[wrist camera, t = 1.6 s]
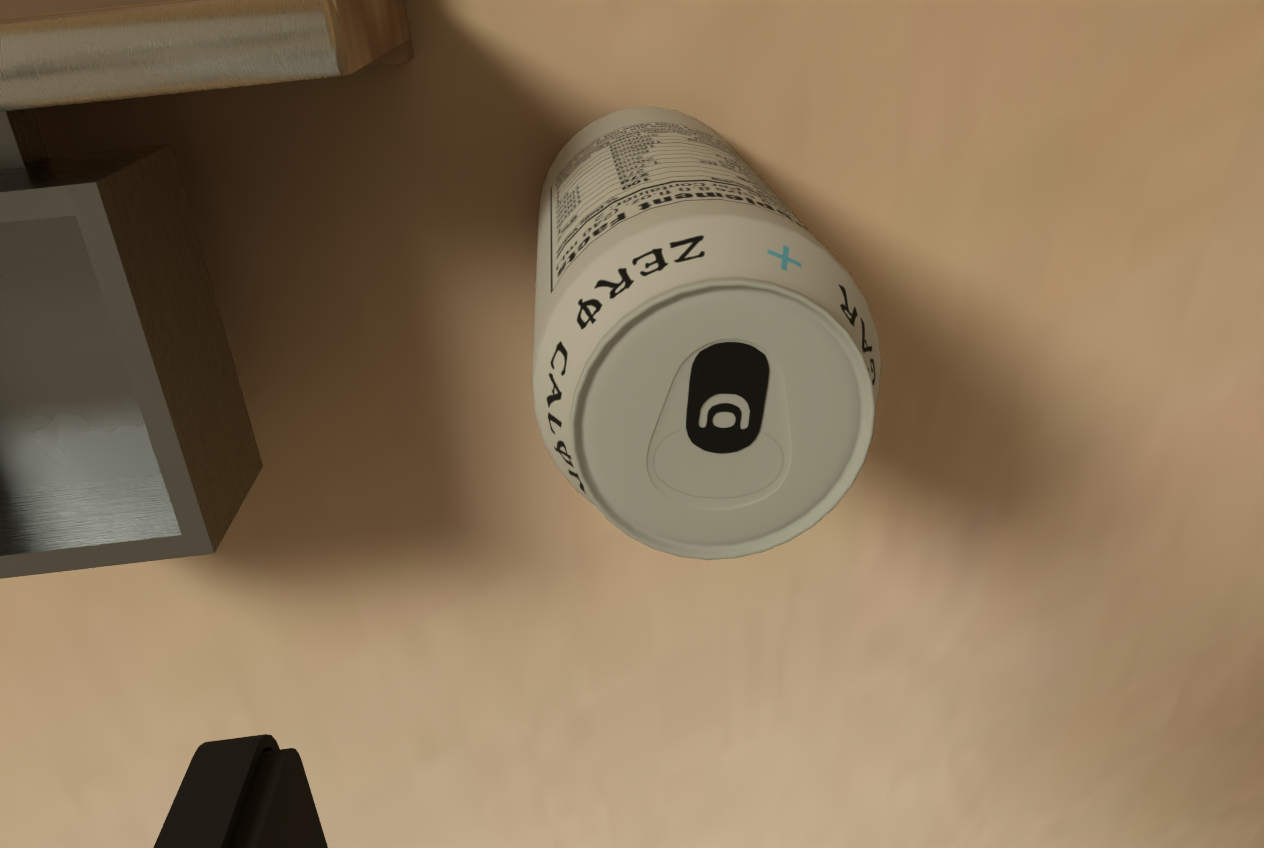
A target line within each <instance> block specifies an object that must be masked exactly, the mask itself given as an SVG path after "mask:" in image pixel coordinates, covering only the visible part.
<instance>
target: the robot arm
mask: <svg viewBox="0 0 1264 848" xmlns="http://www.w3.org/2000/svg"><path fill="white" fill-rule="evenodd" d="M154 848H328V847H327V843H326V840H325V837H324V833H323V830H322V827H321V824H320V820H319V817H318V814H317V810H316V807H315V804H314V800H313V797H312V794H311V790H310V787H309V784H308V781H307V777H306V774H305V771H304V767H303V764H302V761H301V758H300V756H299V753H298V752H297V751H296V749H293V748H289V749H282V750H280V749H279V746H278V744H277V742H276V740H275V739H274V738H273V737H272V735H267V734H265V735H258V736H250V737H242V738H235V739H227V740H219V741H211V742H205V743H203V744H202V745H200V746H199V747H198V749H197V751H196V752H195V754H194V756H193V758H192V760H191V762H190V765H189V767H188V769H187V772H186V774H185V776H184V779H183V781H182V783H181V785H180V788H179V790H178V792H177V795H176V797H175V799H174V802H173V804H172V806H171V809H170V811H169V813H168V815H167V818H166V820H165V822H164V825H163V827H162V829H161V832H160V834H159V836H158V838H157V841H156V843H155V845H154Z"/></svg>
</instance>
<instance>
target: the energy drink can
mask: <svg viewBox="0 0 1264 848" xmlns="http://www.w3.org/2000/svg"><path fill="white" fill-rule="evenodd" d="M880 371H881V357H880V348H879V340H878V331H877V329H876V326H875V323H874V320H873V317H872V314H871V311H870V309H869V306H868V303H867V301H866V299H865V297H864V296H863V294H862V293H861V291H860V289H859V288H858V286H857V285H856V283H855V281H854V280H853V278H852V276H851V275H850V273H849V272H848V271H847V270H846V269H845V268H844V267H843V266H842V265H841V264H840V263H839V262H838V261H837V260H836V259H835V257H834V256H833V255H832V254H831V253H830V252H829V251H828V250H827V249H826V248H825V247H824V246H823V245H822V244H821V243H820V242H819V240H818V239H817V238H816V237H815V236H814V235H813V234H812V233H811V232H810V231H809V230H808V229H807V228H806V227H805V226H804V225H803V223H802V222H801V221H800V220H799V219H798V218H797V217H796V216H795V215H794V214H793V213H792V212H791V211H790V210H789V209H788V207H787V206H786V205H785V204H784V203H783V202H782V201H781V200H780V199H779V198H778V197H777V196H776V195H775V194H774V193H773V192H772V190H771V189H770V188H769V187H768V186H767V185H766V184H765V183H764V182H763V181H762V180H761V179H760V178H759V177H758V176H757V175H756V173H755V172H754V171H753V170H752V169H751V168H750V167H749V166H748V165H747V164H746V163H745V162H744V161H743V160H742V159H741V158H740V156H739V155H738V154H737V153H736V152H735V151H734V150H733V149H732V148H731V147H730V146H729V145H728V144H727V143H726V142H725V141H724V140H723V139H722V138H721V137H720V136H719V135H718V134H717V133H716V132H715V131H714V130H713V129H711V128H710V127H708V126H707V125H705V124H704V123H702V122H701V121H700V120H698V119H696V118H694V117H691V116H689V115H686V114H684V113H681V112H679V111H676V110H670V109H665V108H659V107H634V108H629V109H625V110H621V111H617V112H613V113H610V114H608V115H606V116H604V117H602V118H600V119H597V120H595V121H593V122H591V123H590V124H589V125H587V126H586V127H585V128H583V129H582V130H581V131H579V132H578V133H577V134H575V135H574V136H573V137H572V138H571V140H570V141H569V142H568V143H567V144H566V145H565V146H564V147H563V148H562V149H561V151H560V152H559V154H558V155H557V157H556V159H555V160H554V162H553V164H552V165H551V167H550V169H549V171H548V174H547V177H546V180H545V182H544V185H543V188H542V192H541V199H540V206H539V220H538V245H537V270H536V296H535V321H534V346H533V372H532V384H533V398H534V412H535V415H536V419H537V422H538V426H539V429H540V432H541V436H542V439H543V442H544V444H545V446H546V448H547V450H548V451H549V453H550V455H551V457H552V459H553V461H554V462H555V464H556V466H557V468H558V469H559V471H560V472H561V473H562V474H563V475H564V476H565V478H566V479H567V480H568V481H569V482H570V484H571V485H572V486H573V487H574V488H575V490H576V491H577V492H578V493H580V494H581V495H582V496H583V497H585V498H586V499H587V500H588V501H590V502H591V503H592V504H594V505H595V506H596V507H597V508H598V509H599V510H600V511H601V512H602V513H603V515H604V516H605V517H606V518H607V519H608V520H609V521H610V522H611V523H613V524H614V525H615V526H616V527H618V528H619V529H620V530H621V531H623V532H624V533H625V534H627V535H628V536H629V537H631V538H633V539H635V540H637V541H639V542H641V543H643V544H645V545H647V546H649V547H651V548H653V549H655V550H659V551H662V552H666V553H669V554H672V555H676V556H679V557H687V558H696V559H705V560H712V559H729V558H738V557H743V556H747V555H751V554H756V553H760V552H764V551H766V550H769V549H771V548H774V547H776V546H779V545H781V544H783V543H786V542H788V541H790V540H792V539H793V538H795V537H797V536H798V535H800V534H802V533H803V532H805V531H806V530H808V529H810V528H811V527H813V526H814V525H815V524H816V523H818V522H819V521H820V520H821V519H822V518H823V517H824V516H825V515H827V514H828V513H829V512H830V511H831V510H832V509H833V508H834V507H835V506H836V505H837V504H838V502H839V501H840V500H841V499H842V497H843V496H844V495H845V494H846V492H847V491H848V490H849V489H850V487H851V486H852V485H853V483H854V481H855V479H856V477H857V475H858V473H859V471H860V469H861V468H862V466H863V464H864V462H865V459H866V456H867V453H868V450H869V446H870V443H871V440H872V436H873V429H874V418H875V404H876V401H877V397H878V393H879V382H880Z"/></svg>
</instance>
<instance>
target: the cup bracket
mask: <svg viewBox="0 0 1264 848" xmlns="http://www.w3.org/2000/svg"><path fill="white" fill-rule="evenodd" d="M413 58H414V56H413V50H412V44H411V39H410V33H409V27H408V21H407V16H406V10H405V4H404V0H0V579H1V578H10V577H18V576H27V575H35V574H44V573H52V572H61V571H69V570H78V569H86V568H95V567H103V566H112V565H120V564H129V563H137V562H146V561H154V560H163V559H171V558H180V557H188V556H197V555H205V554H214V553H215V551H216V549H217V547H218V546H219V544H220V542H221V540H222V538H223V537H224V535H225V533H226V531H227V530H228V528H229V526H230V524H231V522H232V521H233V519H234V517H235V515H236V513H237V512H238V510H239V508H240V506H241V504H242V503H243V501H244V499H245V497H246V495H247V494H248V492H249V490H250V488H251V487H252V485H253V483H254V481H255V479H256V478H257V476H258V474H259V472H260V470H261V469H262V467H263V465H262V462H261V458H260V455H259V451H258V448H257V444H256V441H255V437H254V433H253V430H252V426H251V423H250V419H249V416H248V412H247V409H246V405H245V401H244V398H243V394H242V391H241V387H240V384H239V380H238V377H237V373H236V369H235V366H234V362H233V359H232V355H231V352H230V348H229V345H228V341H227V337H226V334H225V330H224V327H223V323H222V320H221V316H220V313H219V309H218V305H217V302H216V298H215V295H214V291H213V288H212V284H211V281H210V277H209V273H208V270H207V266H206V263H205V259H204V256H203V252H202V249H201V245H200V242H199V238H198V234H197V231H196V227H195V224H194V220H193V217H192V213H191V210H190V206H189V202H188V199H187V195H186V192H185V188H184V185H183V181H182V178H181V174H180V170H179V167H178V163H177V160H176V156H175V153H174V149H173V146H172V144H166V145H157V146H147V147H138V148H128V149H119V150H110V151H100V152H91V153H81V154H72V155H62V156H53V157H48V155H47V152H46V149H45V146H44V143H43V140H42V137H41V134H40V131H39V128H38V125H37V122H36V119H35V116H34V113H33V110H32V108H41V107H51V106H60V105H70V104H80V103H89V102H99V101H108V100H118V99H127V98H137V97H147V96H156V95H166V94H175V93H185V92H194V91H204V90H214V89H223V88H233V87H242V86H252V85H261V84H271V83H281V82H290V81H300V80H309V79H319V78H328V77H338V76H343V75H350V74H352V73H354V72H355V71H357V70H359V69H360V68H367V67H376V66H386V65H396V64H405V63H408V62H409V61H410V60H412V59H413Z"/></svg>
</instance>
